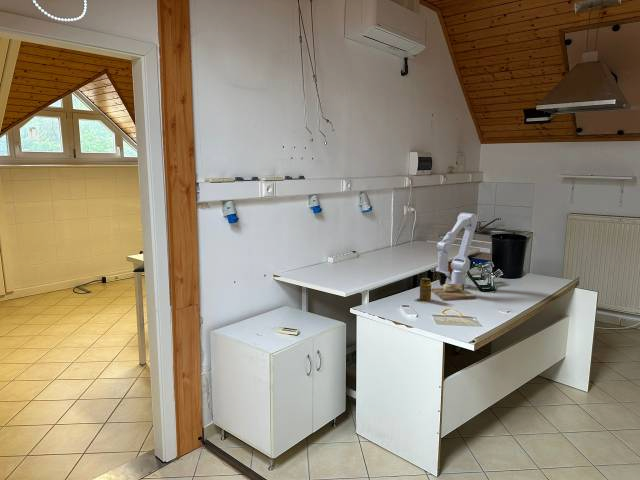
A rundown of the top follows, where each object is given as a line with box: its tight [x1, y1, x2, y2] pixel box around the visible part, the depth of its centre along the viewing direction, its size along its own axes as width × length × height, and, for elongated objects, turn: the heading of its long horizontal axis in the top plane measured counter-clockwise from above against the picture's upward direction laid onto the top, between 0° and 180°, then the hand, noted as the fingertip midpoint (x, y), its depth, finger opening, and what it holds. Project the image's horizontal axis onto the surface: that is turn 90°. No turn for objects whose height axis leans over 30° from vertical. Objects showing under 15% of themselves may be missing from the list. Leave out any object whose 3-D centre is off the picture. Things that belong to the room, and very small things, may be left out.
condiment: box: [414, 277, 434, 304], centre depth 258 cm, size 7×8×12 cm
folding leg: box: [442, 283, 465, 291], centre depth 271 cm, size 12×4×3 cm, turn 97°
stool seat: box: [431, 287, 476, 301], centre depth 268 cm, size 18×18×2 cm
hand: (442, 285), depth 276 cm, fingers closed
